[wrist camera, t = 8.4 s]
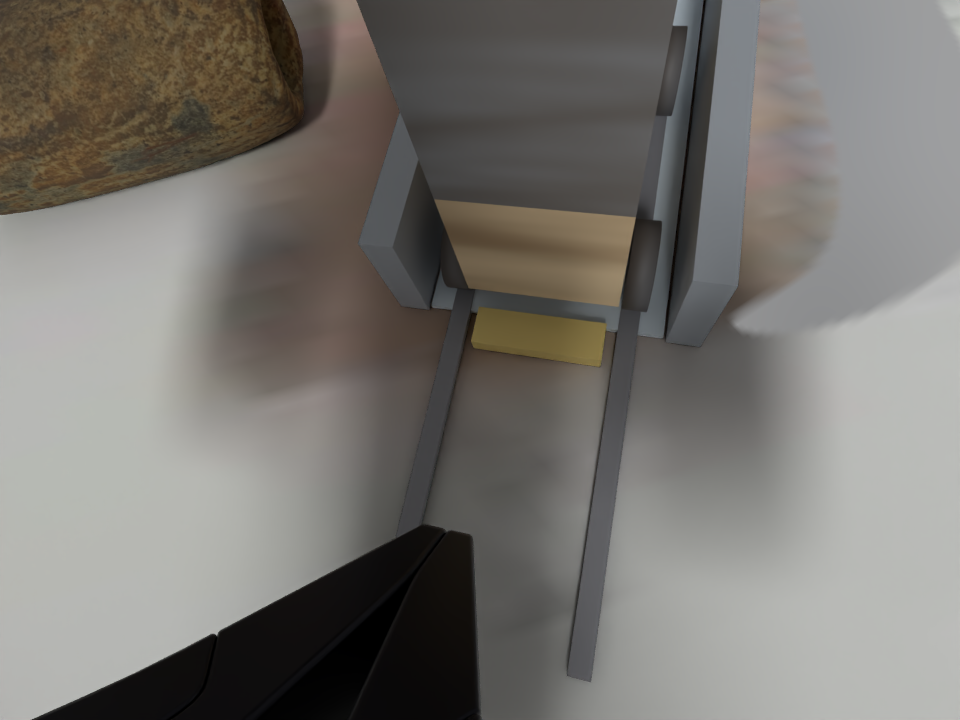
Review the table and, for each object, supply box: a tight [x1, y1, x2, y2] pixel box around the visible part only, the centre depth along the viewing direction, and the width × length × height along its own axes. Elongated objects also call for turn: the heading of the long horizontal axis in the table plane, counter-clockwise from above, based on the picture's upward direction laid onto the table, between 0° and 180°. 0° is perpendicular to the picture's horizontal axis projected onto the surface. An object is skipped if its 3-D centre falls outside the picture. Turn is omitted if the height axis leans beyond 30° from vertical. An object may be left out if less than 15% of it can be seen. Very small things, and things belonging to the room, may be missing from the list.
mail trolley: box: [357, 0, 688, 312], centre depth 13 cm, size 10×6×12 cm, turn 168°
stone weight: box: [0, 0, 304, 215], centre depth 20 cm, size 15×7×7 cm, turn 106°
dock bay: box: [358, 0, 760, 682], centre depth 16 cm, size 25×10×5 cm, turn 168°
